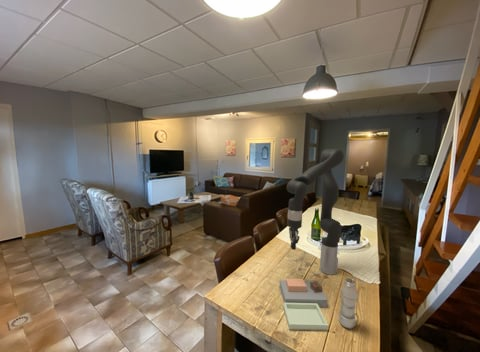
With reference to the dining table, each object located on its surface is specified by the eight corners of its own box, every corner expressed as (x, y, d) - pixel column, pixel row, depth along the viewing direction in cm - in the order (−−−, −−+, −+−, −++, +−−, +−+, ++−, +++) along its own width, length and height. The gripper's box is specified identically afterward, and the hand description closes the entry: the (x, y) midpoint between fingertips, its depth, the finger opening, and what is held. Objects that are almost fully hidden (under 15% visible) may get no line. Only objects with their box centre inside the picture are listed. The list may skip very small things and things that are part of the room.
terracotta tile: (302, 284, 105) (302, 278, 104) (306, 292, 99) (306, 286, 98) (285, 283, 105) (285, 278, 104) (288, 291, 99) (288, 286, 98)
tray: (317, 308, 94) (317, 303, 93) (327, 330, 82) (328, 325, 81) (283, 307, 94) (283, 302, 93) (289, 329, 82) (289, 324, 82)
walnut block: (316, 286, 103) (317, 281, 103) (321, 291, 99) (322, 286, 99) (310, 287, 102) (310, 282, 102) (314, 292, 98) (315, 287, 98)
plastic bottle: (338, 328, 83) (342, 283, 81) (337, 315, 89) (340, 274, 87) (356, 333, 81) (360, 288, 78) (353, 320, 87) (357, 278, 85)
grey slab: (316, 287, 108) (316, 280, 108) (327, 307, 94) (327, 299, 94) (279, 286, 108) (279, 280, 108) (285, 306, 94) (285, 298, 94)
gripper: (305, 222, 99) (303, 255, 101) (298, 214, 113) (296, 243, 115) (290, 222, 99) (289, 254, 101) (285, 213, 113) (283, 242, 115)
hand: (293, 248), depth 108 cm, fingers closed
